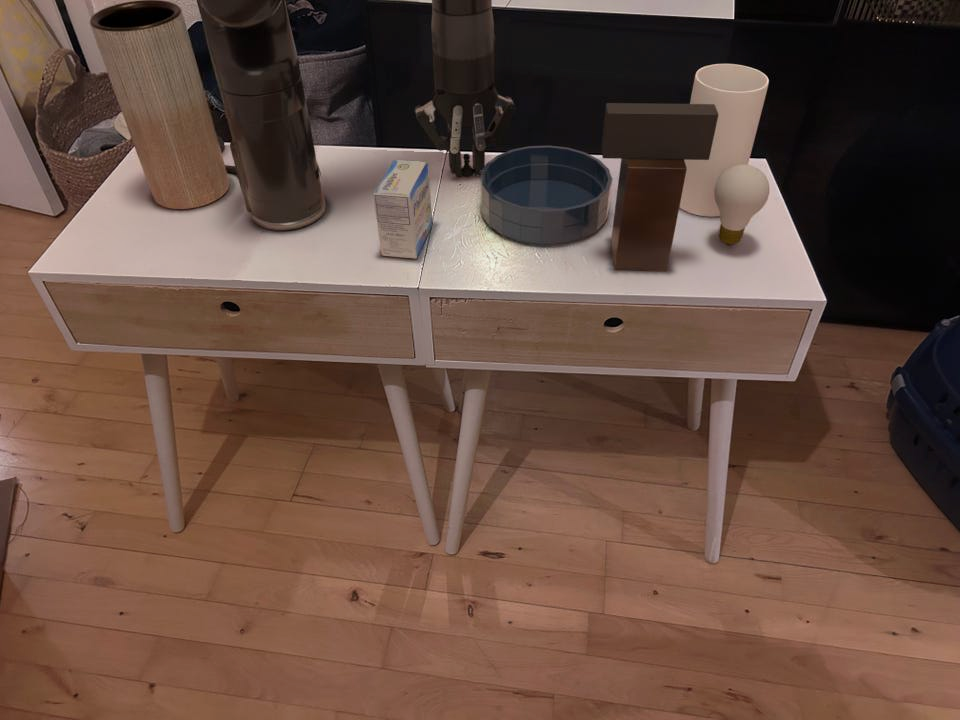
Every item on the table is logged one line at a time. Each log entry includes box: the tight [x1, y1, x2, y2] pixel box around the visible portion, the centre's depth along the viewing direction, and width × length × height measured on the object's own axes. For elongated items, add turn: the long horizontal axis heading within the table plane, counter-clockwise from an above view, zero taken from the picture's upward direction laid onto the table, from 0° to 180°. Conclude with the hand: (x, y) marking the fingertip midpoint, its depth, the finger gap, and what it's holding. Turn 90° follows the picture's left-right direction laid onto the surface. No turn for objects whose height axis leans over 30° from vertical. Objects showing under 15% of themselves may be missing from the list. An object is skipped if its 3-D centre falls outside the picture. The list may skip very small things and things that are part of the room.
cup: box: [679, 63, 770, 218], centre depth 90 cm, size 8×8×16 cm
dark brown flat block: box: [600, 102, 718, 160], centre depth 76 cm, size 11×2×5 cm, turn 86°
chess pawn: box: [461, 153, 475, 178], centre depth 101 cm, size 2×2×3 cm
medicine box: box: [373, 159, 434, 260], centre depth 87 cm, size 8×4×9 cm, turn 168°
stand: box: [610, 159, 687, 272], centre depth 83 cm, size 6×6×13 cm
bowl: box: [480, 145, 613, 246], centre depth 93 cm, size 16×16×5 cm
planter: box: [89, 0, 230, 210], centre depth 92 cm, size 10×10×23 cm
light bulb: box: [714, 164, 770, 246], centre depth 85 cm, size 6×6×10 cm
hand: (467, 173), depth 102 cm, fingers closed on chess pawn, 2 cm apart
